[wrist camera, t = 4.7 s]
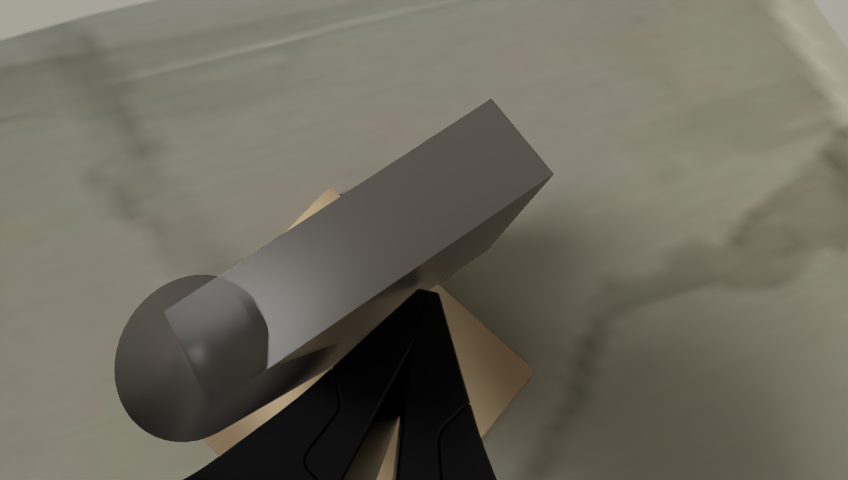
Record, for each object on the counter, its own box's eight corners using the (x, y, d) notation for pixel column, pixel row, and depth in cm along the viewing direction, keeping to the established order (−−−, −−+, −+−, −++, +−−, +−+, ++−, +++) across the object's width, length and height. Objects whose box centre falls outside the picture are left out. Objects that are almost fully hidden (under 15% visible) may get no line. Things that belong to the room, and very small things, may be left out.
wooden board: (353, 582, 14) (342, 613, 13) (168, 367, 16) (141, 373, 15) (532, 361, 16) (542, 367, 14) (341, 190, 18) (332, 179, 16)
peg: (487, 262, 15) (568, 192, 6) (339, 365, 14) (153, 478, 5) (419, 168, 16) (390, -24, 7) (278, 260, 15) (30, 193, 6)
